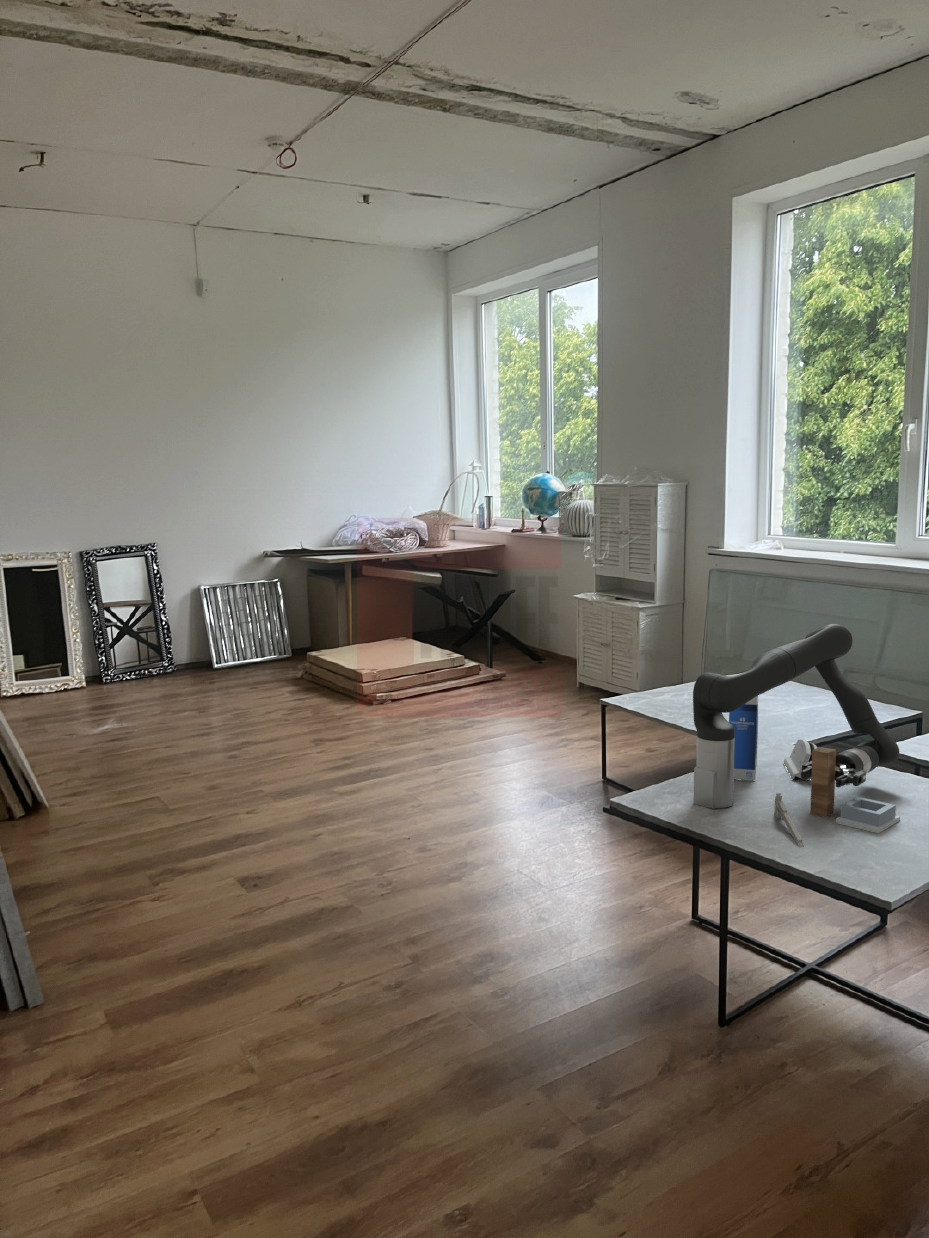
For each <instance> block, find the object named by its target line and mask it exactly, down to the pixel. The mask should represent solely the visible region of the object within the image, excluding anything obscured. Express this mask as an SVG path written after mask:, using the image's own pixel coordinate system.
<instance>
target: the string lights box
mask: <svg viewBox="0 0 929 1238" xmlns="http://www.w3.org/2000/svg"><path fill="white" fill-rule="evenodd" d="M728 722H729V723H730V724H732V725H733V727H734V729H735V737H734V738H735V742H734V779H741V780H740V781H742V780H755V781H756V773H757V766H758V739H759V738H758V737H759V736H758V735H759V734H758V731H759V730H758V729H759V695H758V696H756V697H755V698H753V699H752V700H750V701H749V702H747V703H746V704H744V705H742V706H741V707H739V708H738V709H736V710H734V711H732V712H728Z"/></svg>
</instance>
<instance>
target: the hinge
mask: <svg viewBox="0 0 929 1238" xmlns="http://www.w3.org/2000/svg"><path fill="white" fill-rule="evenodd" d="M816 748H818V746H817V745H816V744H814V743H812V742H811V741H807V740H806V739H797V740H796V742H795V745H794V747H793V749H792V750H791V754H790V755H789V756H788V757H785V758H784V760H783V762H784V764H785V766H786V767H787V770H788V773H790V776H791V778H790V780H791V779H794V780H795V777H797V778H800V779H802V777H801V771H802V764H805V763H808V762H810V761H812V750H814V749H816ZM788 773H787V774H788ZM810 779H812V777H811V778H808V779H807V780H810ZM802 780H803V779H802ZM807 780H806V781H807Z"/></svg>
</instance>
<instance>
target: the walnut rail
mask: <svg viewBox="0 0 929 1238" xmlns="http://www.w3.org/2000/svg"><path fill="white" fill-rule="evenodd" d="M836 755H837V749H835V748H834V749H833V748H829V747H828V748H827V747H822V746H818V747H817V748H816V749H814V750H812V779H811V781H810V782H811V784H810V814H811V815H814V816H817V817H818V816H819V817H823V818H828V817H830V816H832V815H834V814H835V797H836V796H835V791H836V790H835V789H836V781H835V766H836Z"/></svg>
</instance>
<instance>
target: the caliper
mask: <svg viewBox="0 0 929 1238" xmlns="http://www.w3.org/2000/svg"><path fill="white" fill-rule="evenodd" d="M773 810H774V811H773V812H774V814H773V815H774V817H776V819H777V820H778V819H781V821H784V823H785V825H786V827H787V829H788V830H789V832H790V835H791V836H792V838H793V841H795V843H796V844H797V845H798V847H799V848H800V847H801V848H803V847H804V845H805V844H804V842H803V838H802V837H801V835H800V833H799V831H798V829H797V828H796V825H795V824H794V822H793V820H792V819H791V818H792V817H791V816H790V814H789V813H788V809H787V807H786V805H785V803H784V802H783V796H782V793H778V792H777V793H776V795H775V797H774V809H773Z"/></svg>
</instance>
